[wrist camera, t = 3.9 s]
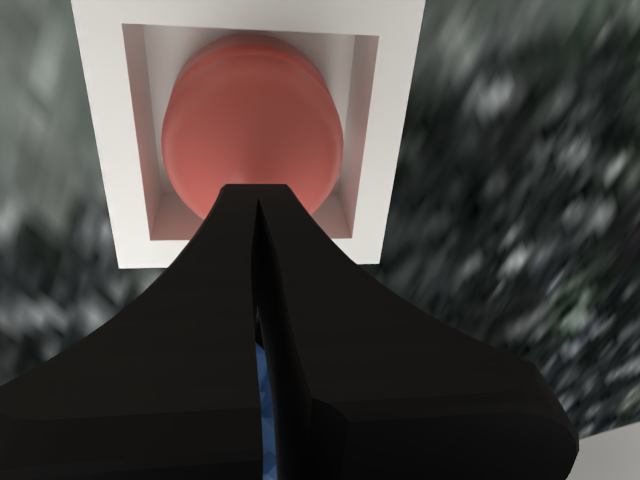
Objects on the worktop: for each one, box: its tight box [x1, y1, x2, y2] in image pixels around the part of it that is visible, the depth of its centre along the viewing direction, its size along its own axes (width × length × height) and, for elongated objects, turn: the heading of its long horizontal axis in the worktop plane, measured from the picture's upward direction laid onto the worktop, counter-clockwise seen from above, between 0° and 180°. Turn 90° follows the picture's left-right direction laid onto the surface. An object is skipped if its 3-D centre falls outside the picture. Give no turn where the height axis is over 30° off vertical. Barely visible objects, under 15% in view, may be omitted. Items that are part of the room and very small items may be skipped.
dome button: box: [161, 34, 344, 220], centre depth 14 cm, size 5×5×5 cm
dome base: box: [71, 0, 425, 268], centre depth 15 cm, size 8×8×3 cm
